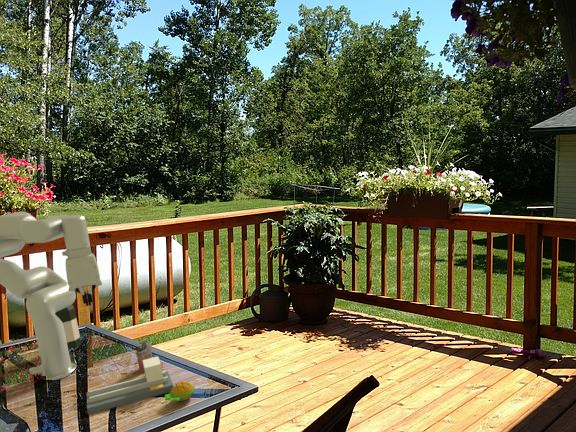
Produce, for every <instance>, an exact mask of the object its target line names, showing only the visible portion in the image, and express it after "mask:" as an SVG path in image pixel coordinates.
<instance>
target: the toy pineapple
mask: <svg viewBox="0 0 576 432" xmlns="http://www.w3.org/2000/svg"><path fill="white" fill-rule="evenodd" d="M195 390H196V388H195V385H193V383H191V382H190V381H186V380H183V381H179V382H176V383H175V385H173V388H172V390H171V392H169V393H168V394H167V393H166V394H165V395H164V400H165V401H169V402H170V403H172V402H179V401H180V402H183V401H186V400H188V399H190V397H192V396H193V394H194V392H195Z"/></svg>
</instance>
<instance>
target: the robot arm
mask: <svg viewBox="0 0 576 432" xmlns="http://www.w3.org/2000/svg"><path fill="white" fill-rule="evenodd" d="M61 238H64V244H65V251H62V252H61V254H62V256H65V257H66V259H65V272H66V279H67V280H65V279H64V278H63V277H61V276H60V275H59V274H58V273H56V272H55V271H54V270H52V269H51V268H50V267H48V266H36V267H33V268H31V269H23V268H22V267H20V266H19V265H18V264H16V263H15V262H13V261H10V260H7V259H4V257H8V256H11V255H15V254H16V253H19V252H20V251H22V249H23V248H24V246H25V245H26V243H28V244H43V243H44V244H45V243H48V242H52V241H55V240H58V239H61ZM90 242H91V241H90V236H89V231H88V225H87V220H86V217H85V216H84V215H82V214H76V215H69V214H59V215H55V216H54V215H53V216H51V217H47V218H43V219H39V220H37V219H36V217H35V216H33V215H32V214H30V213H28V212H27V211H22V210H21V211H16V212H13V213H11V212H10V213H9V214H3V215H0V286H2V287H4V288H5V290H7V291H8V292H9V293H11V294H12V295H14V296H15V297H16V298H18V299H20V300H25V299H26V301H25V308H26V310H27V312H28V315H29V318H30V319H31V323H32V327H33V330H34V333H35V338H36V343H37V347H38V353H39V357H40V363H41V364H39V365H38V366H35V367H30V368H28V369H29V370H28V372H29V374H30V375H37V374H39V375H40V374H42V376H47V377H46V379H48V380H52V381H57V380H61V379H63V378H66V377H68V376H70V375H72V374H73V373H74V372H73V371H74V370H75V369H76V367H77V364H76V363H74V362H72V361H71V357H70V356H71V355H70V352H69V351H68V346H67V341H66V336H65V331H64V326H63V323H62V321H61V320H60V319H59V318H58V317H57V316H56V315H55V313H56V312H58V311H60V310H62V309H64V308H66V307H68V306H70V305H71V304H72V305H73V304H74V302H75V300H76V298H77V295H76V293H78V294H80V296H81V299H82V302H83V304H85V307H88V306H90V307H91V306H92V303H93V302H94V301H93V295H92V293H93V292H94V290H95V288H98V287H100V286H102V285H103V283H102V280H101V275H100V271H99V266H98V263H97V259H96V256H95V254H94V253H92V249H91V248H92V247H91V243H90ZM84 287H85V288H86V287H87V292H86V290H85V289H84ZM76 370H77V369H76ZM76 370H75V371H76ZM72 372H73V373H72ZM71 373H72V374H71Z"/></svg>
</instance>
